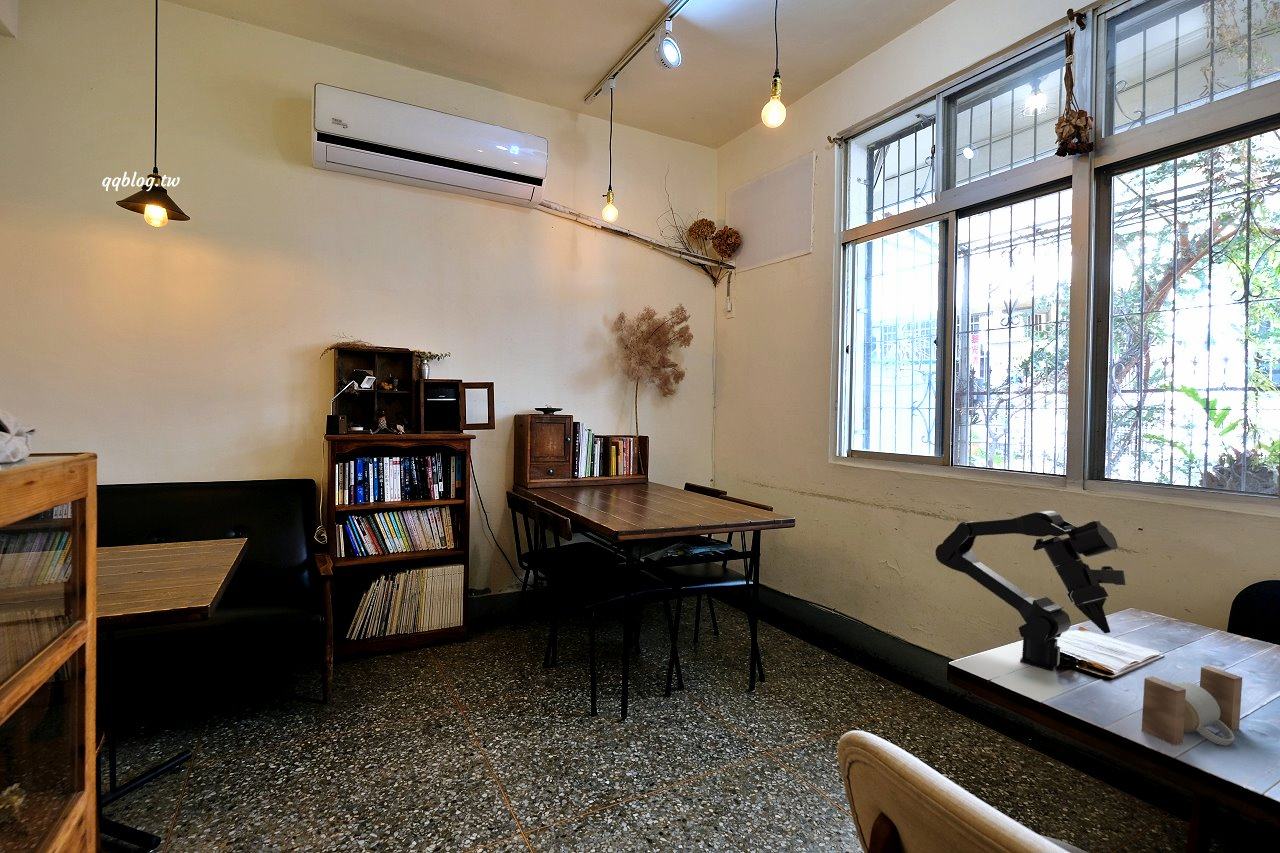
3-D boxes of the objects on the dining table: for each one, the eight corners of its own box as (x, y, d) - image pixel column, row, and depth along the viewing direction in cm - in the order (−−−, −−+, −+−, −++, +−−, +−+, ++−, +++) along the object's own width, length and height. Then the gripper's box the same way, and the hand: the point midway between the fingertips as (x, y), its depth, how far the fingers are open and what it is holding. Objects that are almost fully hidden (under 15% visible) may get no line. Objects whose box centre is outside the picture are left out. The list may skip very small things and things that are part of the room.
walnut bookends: (1141, 730, 106) (1144, 678, 105) (1205, 715, 112) (1208, 665, 112) (1173, 745, 101) (1177, 691, 101) (1239, 728, 107) (1242, 677, 107)
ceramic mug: (1147, 721, 109) (1150, 682, 109) (1167, 712, 113) (1171, 675, 112) (1222, 753, 99) (1225, 710, 99) (1241, 742, 103) (1245, 701, 103)
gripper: (1113, 550, 118) (1159, 625, 112) (1103, 553, 133) (1144, 620, 127) (1054, 566, 123) (1095, 640, 116) (1051, 568, 138) (1088, 633, 131)
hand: (1107, 632), depth 123 cm, fingers closed
